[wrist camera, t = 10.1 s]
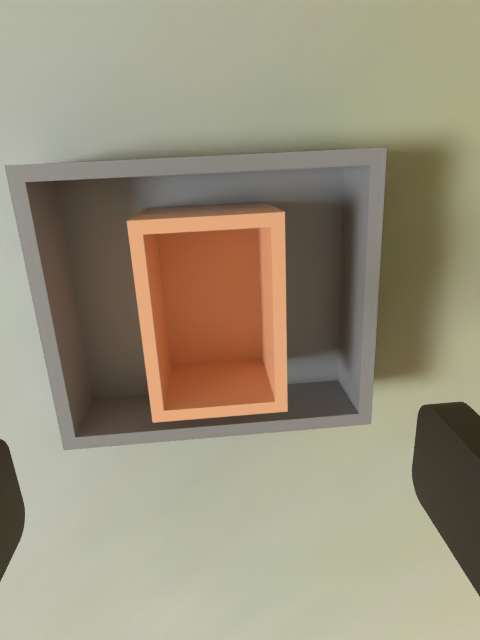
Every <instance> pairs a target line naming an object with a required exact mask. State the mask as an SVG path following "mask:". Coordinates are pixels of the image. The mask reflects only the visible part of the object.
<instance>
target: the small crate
mask: <svg viewBox="0 0 480 640" xmlns="http://www.w3.org/2000/svg"><path fill="white" fill-rule="evenodd" d="M127 228H128V236H129V244H130V252H131V259H132V267H133V275H134V283H135V290H136V298H137V306H138V314H139V321H140V329H141V337H142V345H143V352H144V360H145V368H146V376H147V383H148V391H149V399H150V407H151V414H152V422H153V423H156V422H168V421H180V420H192V419H204V418H216V417H228V416H240V415H252V414H264V413H276V412H288V401H287V329H286V256H285V212H284V211H282V210H280V209H278V208H277V207H275V206H273V205H271V204H269V203H267V202H252V203H234V204H216V205H198V206H180V207H161V208H145V209H143V210H142V211H140V212H139V213H137V214H136V215H134V216H133V217H131V218H130V219H129V220H127Z"/></svg>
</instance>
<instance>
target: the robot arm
mask: <svg viewBox="0 0 480 640" xmlns="http://www.w3.org/2000/svg"><path fill="white" fill-rule="evenodd" d="M412 478H413V484H414V489H415V492H416V495H417V497H418V499H419V501H420V503H421V505H422V506H423V508H424V510H425V511H426V513H427V514H428V516H429V517H430V519H431V521H432V522H433V524H434V525H435V527H436V528H437V530H438V532H439V533H440V535H441V536H442V538H443V539H444V541H445V543H446V544H447V546H448V547H449V549H450V550H451V552H452V554H453V555H454V557H455V558H456V560H457V561H458V563H459V565H460V566H461V568H462V569H463V571H464V572H465V574H466V576H467V577H468V579H469V580H470V582H471V583H472V585H473V587H474V588H475V590H476V591H477V593H478V594H479V596H480V416H479V415H478V414H477V413H476V412H475V411H474V410H473V409H472V408H471V407H470V406H468V405H467V404H466V403H464V402H452V403H440V404H428V405H423V406H422V407H421V408H420V410H419V413H418V418H417V428H416V437H415V446H414V456H413V465H412ZM24 521H25V508H24V502H23V499H22V495H21V491H20V487H19V484H18V480H17V476H16V472H15V469H14V465H13V461H12V458H11V454H10V450H9V447H8V445H7V444H6V442H5V441H3V440H1V439H0V581H1V579H2V577H3V575H4V573H5V571H6V568H7V566H8V564H9V562H10V560H11V558H12V556H13V554H14V552H15V550H16V548H17V545H18V543H19V541H20V539H21V536H22V532H23V528H24Z"/></svg>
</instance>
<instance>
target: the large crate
mask: <svg viewBox="0 0 480 640" xmlns="http://www.w3.org/2000/svg"><path fill="white" fill-rule="evenodd" d="M386 158H387V147H384V148H363V149H342V150H321V151H300V152H279V153H258V154H237V155H215V156H194V157H173V158H152V159H131V160H110V161H89V162H68V163H47V164H26V165H5V170H6V175H7V180H8V184H9V189H10V194H11V199H12V204H13V208H14V213H15V218H16V223H17V228H18V232H19V237H20V242H21V247H22V252H23V256H24V261H25V266H26V271H27V276H28V280H29V285H30V290H31V295H32V300H33V304H34V309H35V314H36V319H37V324H38V328H39V333H40V338H41V343H42V348H43V352H44V357H45V362H46V367H47V372H48V376H49V381H50V386H51V391H52V396H53V400H54V405H55V410H56V415H57V420H58V424H59V429H60V434H61V439H62V444H63V448H64V450H71V449H82V448H94V447H106V446H118V445H130V444H142V443H153V442H165V441H177V440H189V439H201V438H213V437H224V436H236V435H248V434H260V433H272V432H283V431H295V430H307V429H319V428H331V427H343V426H354V425H366V424H371V415H372V398H373V380H374V363H375V346H376V329H377V312H378V295H379V278H380V260H381V243H382V226H383V209H384V192H385V175H386ZM252 202H267V203H269V204H271V205H273V206H275V207H277V208H278V209H280V210H282V211H284V212H285V256H286V329H287V401H288V412H276V413H264V414H252V415H240V416H228V417H216V418H204V419H192V420H180V421H168V422H156V423H153V422H152V414H151V407H150V399H149V391H148V383H147V376H146V368H145V360H144V352H143V345H142V337H141V329H140V321H139V314H138V306H137V298H136V290H135V283H134V275H133V267H132V259H131V252H130V244H129V236H128V228H127V220H129V219H130V218H131V217H133V216H134V215H136V214H137V213H139V212H140V211H142V210H143V209H145V208H161V207H180V206H198V205H216V204H234V203H252Z"/></svg>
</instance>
